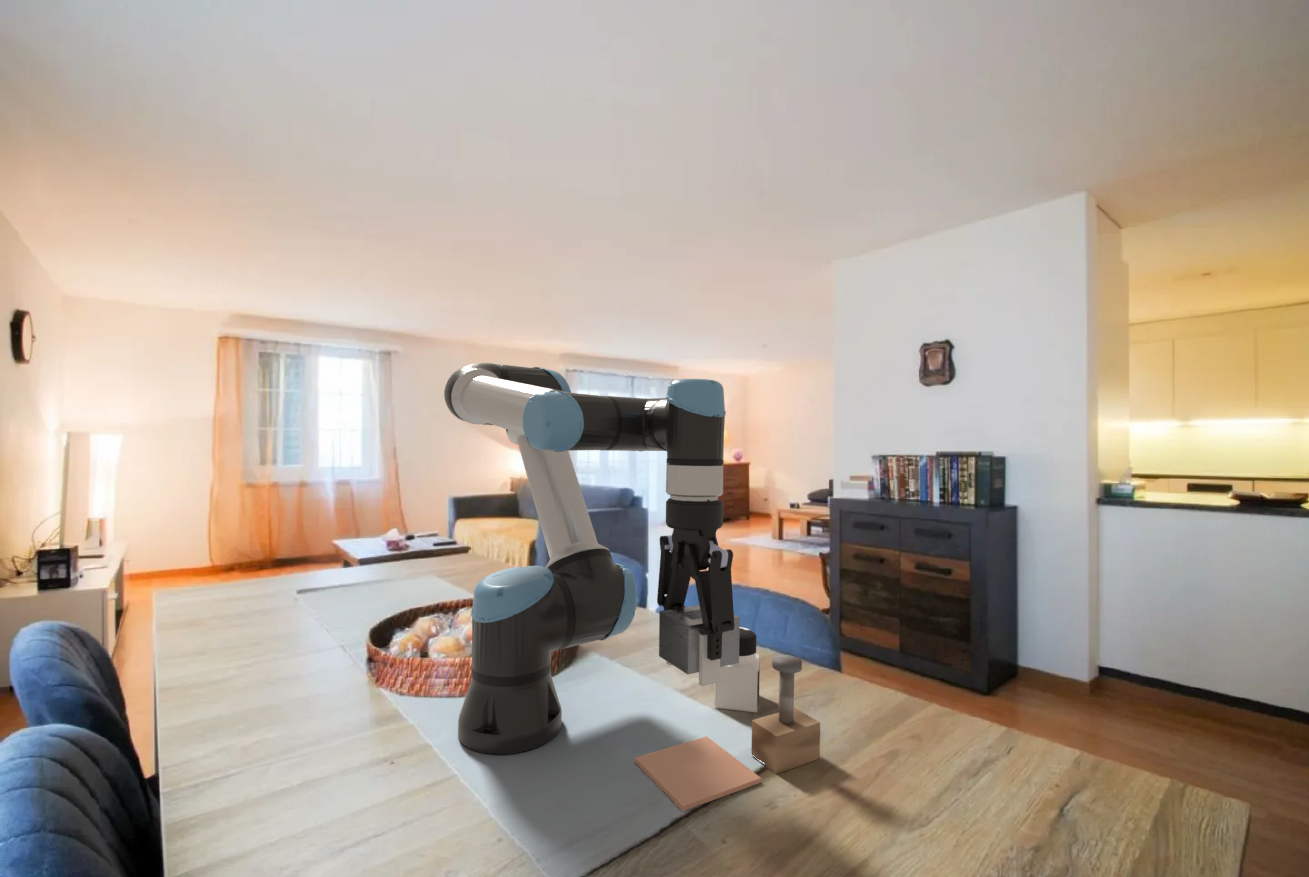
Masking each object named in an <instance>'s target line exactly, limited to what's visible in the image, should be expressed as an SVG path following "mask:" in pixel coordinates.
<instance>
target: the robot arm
mask: <svg viewBox="0 0 1309 877" xmlns="http://www.w3.org/2000/svg"><path fill="white" fill-rule="evenodd" d="M571 391H572V390H571V387H570V385H569V383H568V382H567V380H566V378H565V377H564V376H563V375H562V374H561V373H560V372H557V371H556V370H553V369H548V368H544V367H541V366H534V367H527V366H517V365H509V364H502V363H501V364H500V363H499V364H498V363H491V362H479V363H471V364H467V365H465V366H463V367H461V368H458V369H457V370H456V371H454V372H453V373H452V374H451V375H450V377H448V379H447V381H446V383H445V387H444V391H443V394H444V396H443V397H444V401H445V405H446V407H447V409H448V410H449V412H451V414H452V415H453V416H455V417H456V418H457V419H458V420H461V421H463V422H466V423H468V424H472V425H484V426H495V427H498V428H501V429H505V431H506V435H507V438H508V440H509V442H511V443H513V444H516V445H518V448H519V452H520V456H521V459H522V462H523V466H524V467H523V468H524V470H525V474H526V477H527V480H528V485H529V488H530V492H531V495H532V499H533V502H534V506H535V511H536V513H537V516H538V520H539V524H540V527H541V530H542V531H541V532H542V535H543V538H544V543H545V545H546V550H547V552H548V556H549V561H548V562H547V564H546V566H541V565H527V566H515V567H510V568H509V567H508V568H505V569H501V570H497V571H495V572H493V573H490V574H488V575H486V576H484V577H482V579H481V580H480V581H479V582H478V583H477V584H476V586H475V587H474V590H473V597H472V598H473V601H472V608H471V610H470V611H471V612H470V616H471V678H470V683H469V685H468V686H469V687H468V690H467V691H466V694H465V698H464V700H463V703H462V706H461V710H460V712H459V716H458V719H457V720H458V721H457V722H458V724H457V736H458V740H459V741H460V742H461V744H462V745H463V746H465V747H466V748H468V749H470V750H472V751H475V752H477V753H479V752H480V753H484V754H492V755H508V754H509V755H510V754H516V753H521V752H525V751H530V750H533V749H537V748H539V747H542V746H543V745H545V744H547V743H549V742H551V740H553V739H554V738H555V737H556V736H557V735H558V734H559V733H560V731H561V729H562V723H563V722H562V720H563V719H562V718H563V717H562V715H563V710H562V706H561V703H560V699H559V696H558V693H557V690H556V687H555V683H554V681H553V680H554V679H553V677H552V672H551V670H552V652H555V651H559V650H564V649H568V648H572V647H576V646H579V645H584V644H589V643H592V642H596V641H605V640H607V639H609V638H611V637H614V636H617V635H620V634H623V633H624V632H625V631H626V630H628V628H630V626H631V624H632V623H633V620H634V619H635V615H636V610H637V606H638V590H637V588H638V587H637V583H636V580H635V578H634V575H633V572H632V571H631V570H630V568H628V567H627V566H626V565H625V564H621V563H616V562H615V563H614V560H613V559H614V558H613V556H612V553H611V550H610V549H609V548H608V547H606V546H605V545H602V544H600V543H599V542H598V540H597V536H596V532H595V530H594V527H593V523H592V521H591V517H590V514H589V511H588V508H587V505H586V502H585V498H584V494H583V493H582V489H581V485H580V483H579V480H578V476H577V474H576V471H575V470H576V469H575V467H574V464H573V461H572V458H571V454H570V451H603V452H604V451H616V452H619V451H620V452H622V451H623V452H627V451H629V452H630V451H631V452H646V451H647V452H666V466H665V467H666V469H665V470H666V472H665V493H666V494H667V495H668V496H669V497H670V498H667V500H665V525H666V526H667V527H668V528H670V529H672V532H671V534H669V535H660V537H659V546H660V547H659V549H660V560H659V574H658V584H657V596H656V597H657V598H656V601H657V602H656V603H657V605H658V606H659V607H663V611H665V610H671V609H677V608H684V607H686V605H685V602H686V598H687V595H688V590H689V586H690V582H691V578H692V579H693V580H694V583H695V589H696V594H697V598H698V604H699V605H700V611H701V616H702V621H703V627H704V630H700V631H699V632H700V638H699V672H698V685H699V686H700V687H706V686H709V685H715V683H718V682H720V659H721V656H722V634H723V632H726V631H731V630H734V615H735V612H734V599H733V598H734V597H733V582H732V581H733V580H732V578H733V577H732V566H733V565H732V564H733V559H734V558H733V557H734V551H733V550H732V549H731V548H729V549H723V548H721V547H720V546H719V542H718V540H717V539H718V538H717V531H718V529H721V528H722V527H723V524H724V502H723V500H722V499H719V497H721V496H722V495H723V494H724V460H725V459H724V453H725V452H724V448H725V447H724V445H725V444H724V443H725V422H726V421H725V418H726V413H727V412H726V410H725V409H726V408H725V407H726V406H725V392H724V387H723V384H722V383H720V382H719V381H717V380H714V379H706V378H681V379H674V380H672V381H670V382H669V383H668V386H667V392H666V395H665V397H658V398H656V397H655V398H643V397H642V398H641V397H629V396H615V395H613V396H611V395H596V394H595V395H594V394H586V393H585V394H584V393H577V392H576V393H575V392H571ZM711 622H712V623H711ZM665 661H666V660H665ZM666 664H667V665H669V666H673V665H672V664H671V663H669V662H667V661H666Z"/></svg>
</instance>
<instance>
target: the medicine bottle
mask: <svg viewBox="0 0 1309 877" xmlns="http://www.w3.org/2000/svg"><path fill="white" fill-rule="evenodd" d="M760 660H761V656H760V654H759V653H757V634H756V633H755V631H753V630H751V629H750V628H746V627H741V626H740V629H739V663H737V664H732V665H728V666H723V667H720V682H718V683H714V691H713V692H714V694H713V695H714V698H713V701H714V702H713V706H714V708H715V709H720V710H721V709H722V710H728V711H729V710H731V711H738V712H749V713H758V712H759V704H760V674H761V673H760V671H761V668H760V664H761V663H760V662H761V661H760Z"/></svg>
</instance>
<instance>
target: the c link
mask: <svg viewBox="0 0 1309 877" xmlns="http://www.w3.org/2000/svg"><path fill="white" fill-rule="evenodd" d="M740 620H741V617H740V616H739V615H736V614H734V630H731V631H726V632H723V634H722V656H721V659H720V667H723V666H728V665H732V664H737V663H739V629H740V627H741V626H740V625H741V624H740V622H741V621H740ZM658 621H659V626H658V627H659V628H658V629H659V632H658V633H659V635H658V638H659V639H658V657H659V658H661V659H663V660H664V661H667V662H669V663H671V664H672V665H671V666H674V667H675V668H676V669H679V670H680V671H682V672H683V673H685V674H686V675H693V674H695V673H699V638H700V632H699V631H700V630H704V627H703V621H702V616H701V611H700V605H698V604H697V605H692V606H685V607H684V608H677V609H671V610H665V611H664V610H661V611H660V610H659V619H658ZM711 623H712V622H711Z"/></svg>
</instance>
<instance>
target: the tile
mask: <svg viewBox="0 0 1309 877" xmlns="http://www.w3.org/2000/svg"><path fill="white" fill-rule="evenodd" d="M634 763H635V764H636V765H637V766H638V767H639V768H640V769H641V770H642V772H644V773H645V774H646V775H647V777H649V778H650V779H651V781H653V782H654V784H656V786H657V787H658V788H659V789H660V790H661V791H662V792H663V791H664V792H665V795H666V796H667V795H668V796H667V797H668V798H669V799H670V800H671V801H672V800H673V801H674V802H675V803H674V802H673V801H672V802H673V803H674V804H675V805H676V806H677V807H678V808H679V809H680V810H681V811H682V812H685V811H687V810H690V809H693V808H696V807H699V806H701V805H703V804H706V803H709V802H712V801H714V800H717V799H720V798H722V797H723V798H724V797H725V796H728V795H731V794H733V793H734V794H735V793H736V792H739V791H742V790H744V789H748V788H750V787H753V786H755V785H758V784H760V783H762V778H761V777H760V776H759V775H758V774H756V772H754V771H753V770H752V769H750V768H749V767H748V766H746V765H745V764H744V763H742V762H741V761H740V760H738V759H737V758H736V757H735V756H733V755H732V754H731V753H729V752H728V751H727V750H726V749H724V748H723V747H721V745H719V744H718V743H717V742H715V741H714V740H712V739H711V738H710V737H709V736H707V735H706V736H703V737H700V738H696V739H694V740H690V741H689V740H688V741H686V742H683V743H680V744H676V745H672V746H669V747H666V748H662V749H658V750H656V751H652V752H649V753H645V754H643V755H639V756H635V757H634ZM664 792H663V793H664ZM684 810H685V811H684Z"/></svg>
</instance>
